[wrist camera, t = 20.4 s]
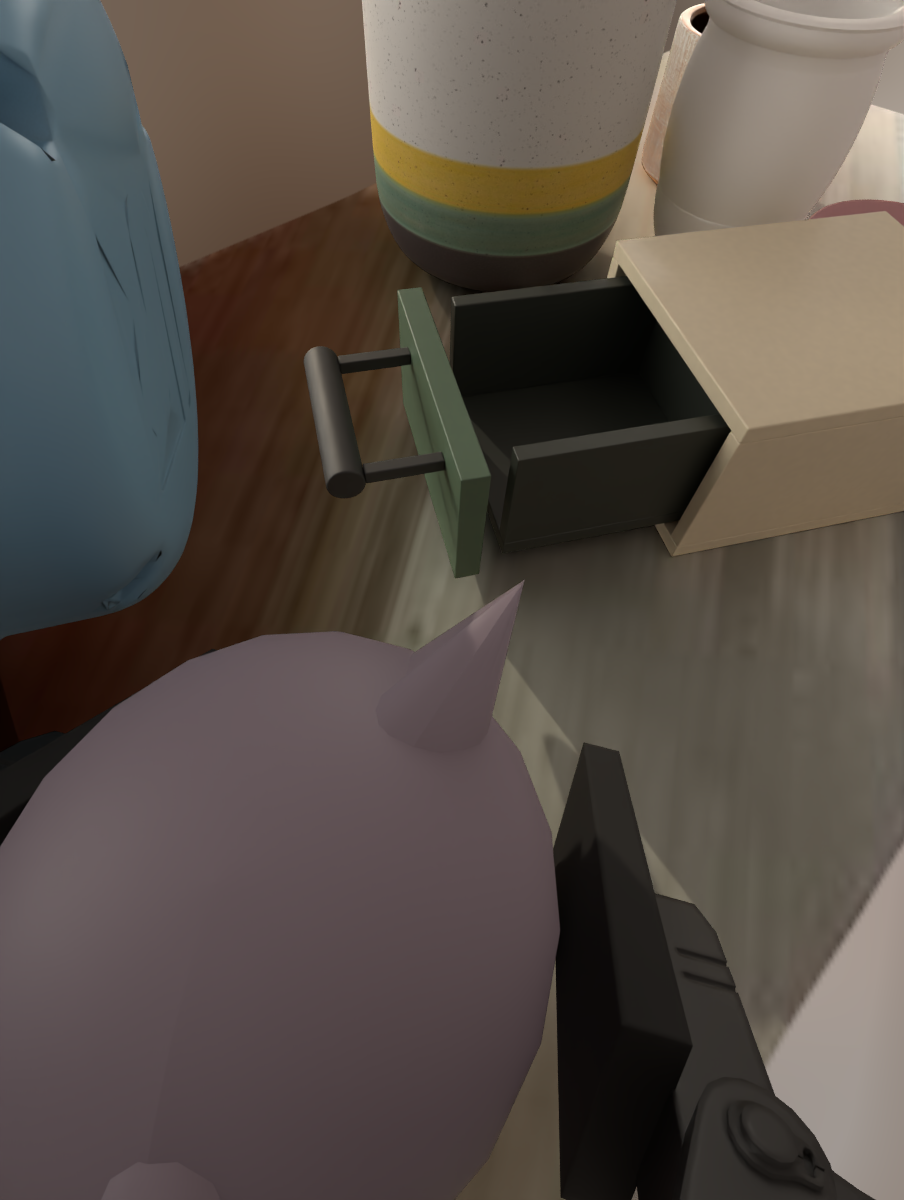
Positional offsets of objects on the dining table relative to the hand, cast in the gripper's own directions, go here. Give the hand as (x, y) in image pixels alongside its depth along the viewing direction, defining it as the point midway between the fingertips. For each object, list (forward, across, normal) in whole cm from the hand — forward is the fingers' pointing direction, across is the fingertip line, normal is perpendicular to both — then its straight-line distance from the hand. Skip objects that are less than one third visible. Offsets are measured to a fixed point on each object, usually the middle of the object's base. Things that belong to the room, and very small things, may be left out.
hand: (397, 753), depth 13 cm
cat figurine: (+1, 0, -6) cm, 6 cm away
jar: (+38, +10, +22) cm, 45 cm away
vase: (+37, -6, +21) cm, 43 cm away
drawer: (+21, 0, +6) cm, 22 cm away
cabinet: (+26, +13, +10) cm, 31 cm away
